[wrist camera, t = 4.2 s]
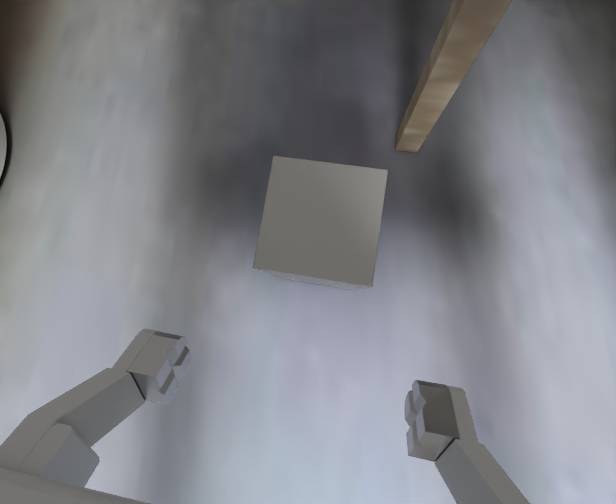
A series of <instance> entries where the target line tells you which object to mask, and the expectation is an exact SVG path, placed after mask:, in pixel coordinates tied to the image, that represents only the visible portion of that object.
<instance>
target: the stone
mask: <svg viewBox="0 0 616 504" xmlns="http://www.w3.org/2000/svg"><path fill="white" fill-rule="evenodd" d="M387 174H388V170H384V169H376V168H368V167H360V166H352V165H344V164H336V163H328V162H320V161H312V160H305V159H297V158H289V157H281V156H273V161H272V167H271V172H270V177H269V183H268V188H267V194H266V199H265V204H264V210H263V215H262V220H261V226H260V231H259V237H258V242H257V247H256V253H255V258H254V263H253V268H255V269H258V270H261V271H264V272H266V273H269V274H272V275H274V276H277V277H280V278H284V279H290V280H297V281H303V282H309V283H315V284H321V285H328V286H334V287H340V288H346V289H353V290H357V289H362V288H367V287H372V286H373V278H374V271H375V263H376V256H377V249H378V241H379V234H380V226H381V219H382V211H383V204H384V196H385V189H386V181H387Z"/></svg>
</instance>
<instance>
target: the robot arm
mask: <svg viewBox="0 0 616 504" xmlns="http://www.w3.org/2000/svg"><path fill="white" fill-rule="evenodd" d="M6 147H7V142H6V131H5V126H4V122H3V119H2V116H1V114H0V177H1V174H2V171H3V167H4V163H5V158H6ZM186 344H187V340H186V337H185V336H179V335H174V334H169V333H163V332H159V331H154V330H149V329H143V330H142V331H140V332H139V333H138V334H137V336H136V337H135V338H134V340H133V341H132V342H131V343H130V345H129V346H128V347H127V349H126V350H125V351H124V353H123V354H122V355H121V357H120V358H119V359H118V361H117V362H116V363H115V365H114V366H113V367H112V369H110V368H107V369H105V370H103V371H102V372H100V373H98V374H96V375H95V376H93V377H91V378H90V379H88V380H86V381H85V382H83V383H81V384H79V385H78V386H76V387H74V388H73V389H71V390H69V391H68V392H66V393H64V394H62V395H61V396H59V397H57V398H56V399H54V400H52V401H51V402H49V403H47V404H45V405H44V406H42V407H40V408H39V409H37V410H35V411H34V412H32V413H30V414H28V415H27V417H26V418H25V419H24V420H23V421H22V422H21V423H20V424H19V426H18V427H17V428H16V429H15V430H14V431H13V432H12V434H11V435H10V436H9V437H8V438H7V439H6V440H5V441H4V443H3V444H2V445H1V446H0V504H150V503H145V502H141V501H137V500H133V499H129V498H125V497H121V496H117V495H113V494H108V493H104V492H100V491H96V490H92V489H88V488H84V486H85V485H86V483H87V482H88V480H89V478H90V477H91V475H92V473H93V472H94V470H95V468H96V467H97V465H98V463H99V462H100V461H99V456H98V455H97V454H96V453H95V452H94V451H93V450H92V449H91V448H90V447H91V446H92V445H94V444H95V443H96V442H97V441H99V440H100V439H101V438H102V437H103V436H105V435H106V434H107V433H108V432H110V431H111V430H112V429H113V428H114V427H116V426H117V425H118V424H119V423H121V422H122V421H123V420H124V419H125V418H127V417H128V416H129V415H130V414H132V413H133V412H134V411H135V410H136V409H138V408H139V407H140V406H141V405H143V404H144V403H145V401H150V402H155V403H161V404H166V405H168V404H169V403H170V401H171V399H172V397H173V395H174V393H175V391H176V390H177V388H178V384H177V380H178V379H179V378H181V377H182V376H184V375H185V373H186V371H187V369H188V366H189V363H190V357H191V353H190V350H189V349H188V348H187V347H186ZM405 420H406V422H407V423H408V425H409V426H410V428H409V430H408V432H407V433H406V436H407V446H408V456H412V457H416V458H421V459H425V460H429V461H433V462H435V465H436V467H437V469H438V471H439V472H440V474H441V476H442V478H443V479H444V481H445V483H446V485H447V487H448V488H449V490H450V492H451V494H452V496H453V497H454V499H455V501H456V503H457V504H530V503H529V502H528V500H527V499H526V498H525V497H524V495H523V494H522V493H521V492H520V490H519V489H518V488H517V486H516V485H515V484H514V483H513V481H512V480H511V479H510V478H509V476H508V475H507V474H506V472H505V471H504V470H503V469H502V467H501V466H500V465H499V463H498V462H497V461H496V460H495V458H494V457H493V456H492V455H491V453H490V452H489V451H488V449H487V448H486V447H485V446H484V445H483V444H479V442H478V439H477V435H476V431H475V427H474V423H473V419H472V416H471V412H470V408H469V404H468V400H467V397H466V393H465V391H464V390H463V389H462V388H458V387H452V386H447V385H443V384H437V383H431V382H425V381H419V380H415V381H414V382H413V384H412V391H409V392H408V394H407V396H406V400H405Z"/></svg>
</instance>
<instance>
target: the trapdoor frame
mask: <svg viewBox="0 0 616 504" xmlns="http://www.w3.org/2000/svg"><path fill="white" fill-rule="evenodd" d="M511 1H512V0H453V1H452V4H451V6H450V8H449V11H448V13H447V15H446V18H445V20H444V22H443V25H442V27H441V30H440V32H439V34H438V37H437V39H436V41H435V44H434V46H433V48H432V51H431V53H430V56H429V58H428V60H427V63H426V65H425V67H424V70H423V72H422V74H421V77H420V79H419V81H418V84H417V86H416V89H415V91H414V93H413V96H412V98H411V100H410V103H409V105H408V107H407V110H406V112H405V114H404V117H403V119H402V122H401V124H400V126H399V129H398V133H397V141H396V148H395V150H400V151H408V152H418V150H419V148H420V147H421V145H422V144H423V142H424V140H425V139H426V137H427V136H428V134H429V132H430V131H431V129H432V128H433V126H434V124H435V123H436V121H437V120H438V118H439V116H440V115H441V113H442V112H443V110H444V108H445V107H446V105H447V104H448V102H449V100H450V99H451V97H452V96H453V94H454V92H455V91H456V89H457V88H458V86H459V84H460V83H461V81H462V80H463V78H464V76H465V75H466V73H467V72H468V70H469V68H470V67H471V65H472V64H473V62H474V60H475V59H476V57H477V56H478V54H479V52H480V51H481V49H482V48H483V46H484V44H485V43H486V41H487V40H488V38H489V36H490V35H491V33H492V32H493V30H494V28H495V27H496V25H497V24H498V22H499V20H500V19H501V17H502V16H503V14H504V12H505V11H506V9H507V8H508V6H509V4H510V3H511Z"/></svg>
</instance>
